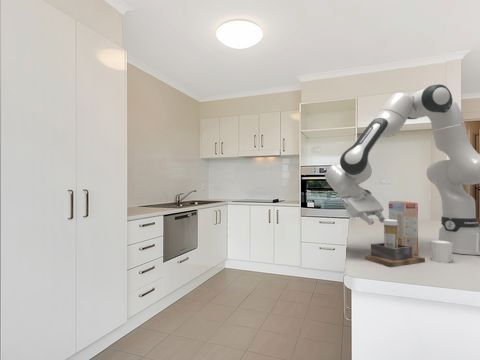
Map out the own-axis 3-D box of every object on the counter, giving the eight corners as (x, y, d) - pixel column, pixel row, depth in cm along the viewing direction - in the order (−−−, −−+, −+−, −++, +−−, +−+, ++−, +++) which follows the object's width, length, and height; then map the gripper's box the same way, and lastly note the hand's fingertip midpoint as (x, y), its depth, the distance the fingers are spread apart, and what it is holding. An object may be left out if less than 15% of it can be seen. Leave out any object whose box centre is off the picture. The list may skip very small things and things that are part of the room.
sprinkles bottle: (400, 256, 101) (400, 220, 101) (393, 258, 98) (392, 220, 99) (388, 254, 105) (388, 218, 105) (381, 255, 102) (380, 219, 103)
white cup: (448, 259, 103) (448, 240, 103) (456, 264, 97) (456, 244, 97) (427, 257, 105) (427, 239, 106) (433, 262, 99) (433, 242, 99)
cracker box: (419, 255, 108) (418, 202, 109) (403, 255, 109) (402, 202, 110) (402, 248, 122) (402, 200, 123) (388, 247, 123) (387, 200, 123)
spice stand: (397, 255, 109) (397, 241, 109) (424, 262, 99) (424, 246, 99) (364, 259, 103) (364, 244, 103) (390, 267, 93) (390, 250, 93)
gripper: (344, 191, 105) (370, 219, 97) (371, 190, 117) (396, 215, 109) (334, 202, 108) (358, 230, 100) (361, 200, 121) (385, 225, 113)
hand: (378, 222), depth 105 cm, fingers open, 8 cm apart
